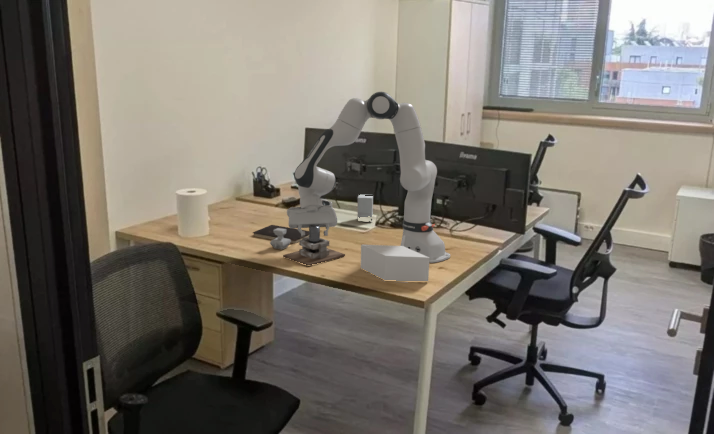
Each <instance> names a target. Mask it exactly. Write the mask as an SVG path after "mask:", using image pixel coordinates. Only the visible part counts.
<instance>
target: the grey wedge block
mask: <svg viewBox="0 0 714 434" xmlns="http://www.w3.org/2000/svg"><path fill="white" fill-rule="evenodd" d="M361 268H362V269H364V270H366V271H368V272H370V273H372V274H374V275H376V276H378V277H380V278H382V279H384V280H396V281H428V282H429V272H430V263H429V257H427V256H425V255H422V254H420V253H418V252H415V251H413V250H411V249H408V248H406V247H404V246H400V245H385V244H380V245H379V244H361V246H360V269H361ZM362 269H361V270H362Z"/></svg>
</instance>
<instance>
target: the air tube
mask: <svg viewBox="0 0 714 434" xmlns="http://www.w3.org/2000/svg"><path fill="white" fill-rule="evenodd" d="M308 231H309V243H312V244H316V243H319V242H320V238H321V227H320V226H318V225H311V226H309V228H308ZM309 252H311V253H317V252H319V249H315V250H312V249H309Z"/></svg>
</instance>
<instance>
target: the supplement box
mask: <svg viewBox="0 0 714 434" xmlns="http://www.w3.org/2000/svg"><path fill="white" fill-rule="evenodd" d="M365 195H366V194H360V195H359V194H358V196H357V218H358V217H359V218H360V217H368V216H370V217H372V215H373V212H374V208H373V207H374V195H373V196H365Z"/></svg>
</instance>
